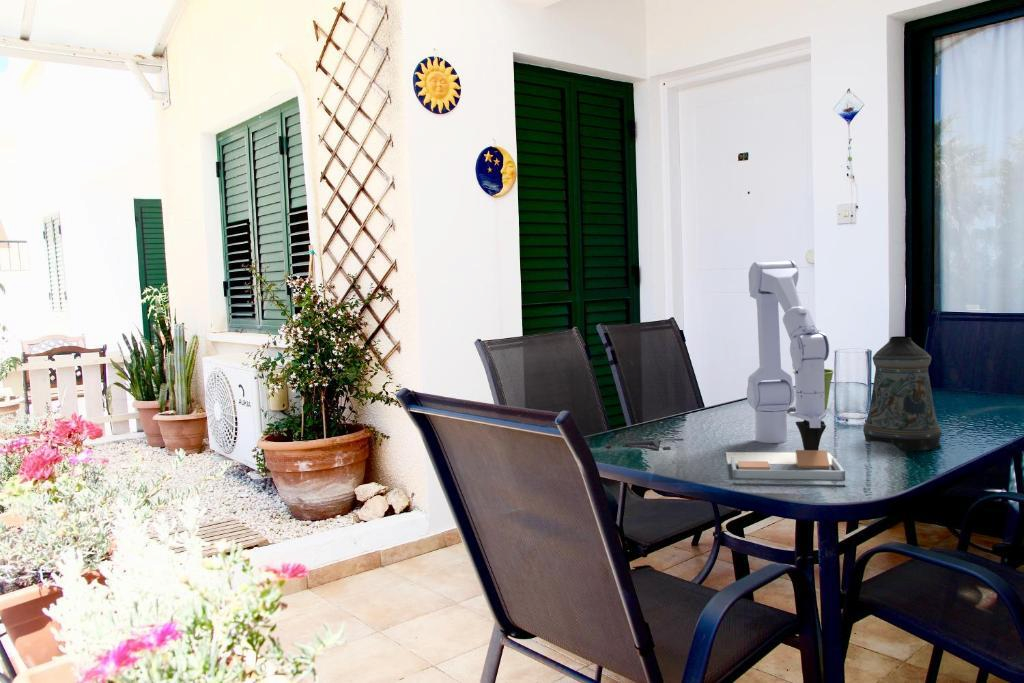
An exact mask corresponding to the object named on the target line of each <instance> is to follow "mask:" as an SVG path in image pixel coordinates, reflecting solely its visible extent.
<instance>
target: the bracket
mask: <svg viewBox="0 0 1024 683" xmlns="http://www.w3.org/2000/svg"><path fill="white" fill-rule="evenodd" d="M661 441H662V439H651V440H638V441H637V440H635V441H625V443H624V446H626V448H639V447H641V449H650V450H656V451H658V452H659V450H660V445H661ZM665 441H677V442H678V441H679V442H680V441H682V442H683V441H684V438H668V439H665ZM648 445H649V446H648ZM652 445H653V446H652ZM662 449H663V450H664V451H671V450H672V449H671V447H670V446H663V447H662Z"/></svg>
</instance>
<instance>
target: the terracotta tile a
mask: <svg viewBox="0 0 1024 683" xmlns="http://www.w3.org/2000/svg"><path fill="white" fill-rule="evenodd" d="M737 467H738V470H771V467H770V464H769V463H768V461H738V464H737Z"/></svg>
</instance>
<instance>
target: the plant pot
mask: <svg viewBox="0 0 1024 683" xmlns="http://www.w3.org/2000/svg"><path fill="white" fill-rule="evenodd" d="M834 371H835V370H834V369H831V368H830V369H829V368H824V383H825V391H824V392H825V409H827V408H828V403H829V396H830V390H831V383H832V380H833V375H834V373H835V372H834ZM792 373H793V374H794V375H795V370H794V369H793V370H792Z"/></svg>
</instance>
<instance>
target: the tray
mask: <svg viewBox="0 0 1024 683" xmlns="http://www.w3.org/2000/svg"><path fill="white" fill-rule="evenodd" d="M730 465H731V471H732V472H731V473H732V478H733V479H771V480H773V479H776V480H777V479H778V480H779V479H780V480H781V479H782V480H783V479H785V480H787V479H788V480H790V479H791V480H846V471H845V470H844V468H843V466H842V465H841V464H840V463H839V461H838V460H837V458H836V457H833V458H832V465H831V466H832V467H833V470H819V469H818V470H817V469H816V470H815V469H814V470H812V469H811V470H810V469H809V470H808V469H807V470H803V469H799V470H796V469H792V470H790V469H770V470H739V469H737V467H736V465H737V464H735V460H734V457H731V464H730ZM732 484H733V486H757V487H758V486H760V487H763V486H764V487H818V488H819V487H825V488H826V487H827V488H828V487H829V488H831V487H833V488H836V487H837V488H838V487H839V488H845V487H846V484H829V483H828V484H826V483H825V484H820V483H819V484H818V483H816V484H814V483H807V484H806V483H762V482H761V483H755V482H754V483H751V482H750V483H749V482H748V483H747V482H743V483H742V482H732Z"/></svg>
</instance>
